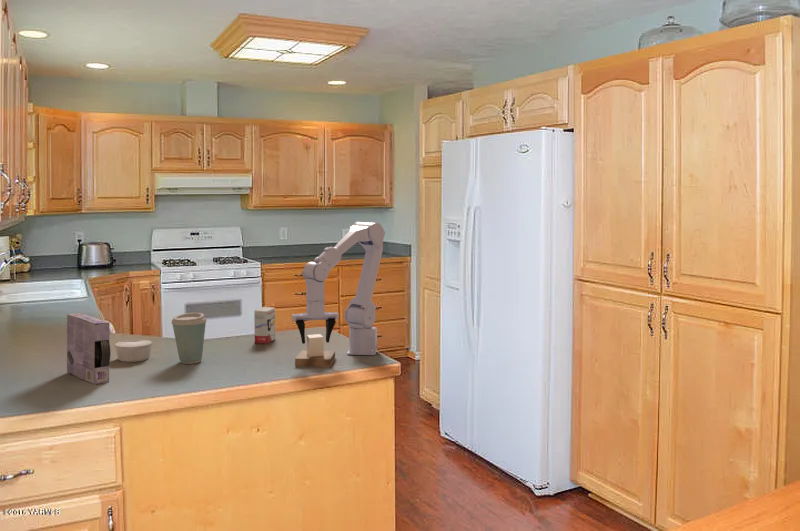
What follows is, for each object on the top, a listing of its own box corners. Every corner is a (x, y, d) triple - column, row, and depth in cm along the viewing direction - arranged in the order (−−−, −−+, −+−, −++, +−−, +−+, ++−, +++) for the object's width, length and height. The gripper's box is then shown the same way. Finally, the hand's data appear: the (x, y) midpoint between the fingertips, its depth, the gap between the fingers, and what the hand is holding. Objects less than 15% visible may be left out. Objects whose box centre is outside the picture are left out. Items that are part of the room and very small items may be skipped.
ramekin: (143, 353, 232) (142, 337, 232) (158, 359, 224) (158, 343, 224) (109, 358, 224) (108, 342, 224) (124, 365, 216) (123, 348, 216)
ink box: (266, 344, 247) (266, 311, 246) (253, 343, 248) (253, 310, 247) (275, 338, 256) (275, 307, 254) (263, 338, 257) (263, 306, 255)
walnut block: (335, 360, 228) (335, 351, 227) (330, 368, 217) (330, 359, 216) (301, 359, 228) (301, 350, 228) (295, 368, 217) (295, 358, 217)
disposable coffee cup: (193, 367, 214) (192, 319, 213) (164, 364, 218) (163, 316, 216) (214, 359, 224) (213, 313, 223) (186, 356, 228) (185, 311, 226)
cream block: (320, 352, 225) (320, 334, 224) (323, 355, 221) (323, 337, 220) (307, 353, 224) (306, 335, 223) (309, 356, 219) (309, 338, 219)
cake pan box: (113, 382, 197) (111, 320, 195) (95, 386, 193) (93, 323, 192) (83, 370, 210) (80, 312, 208) (65, 373, 206) (63, 314, 204)
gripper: (335, 297, 226) (335, 338, 228) (290, 298, 222) (290, 340, 224) (339, 300, 219) (339, 343, 221) (293, 302, 215) (293, 345, 217)
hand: (315, 342), depth 222 cm, fingers open, 7 cm apart
